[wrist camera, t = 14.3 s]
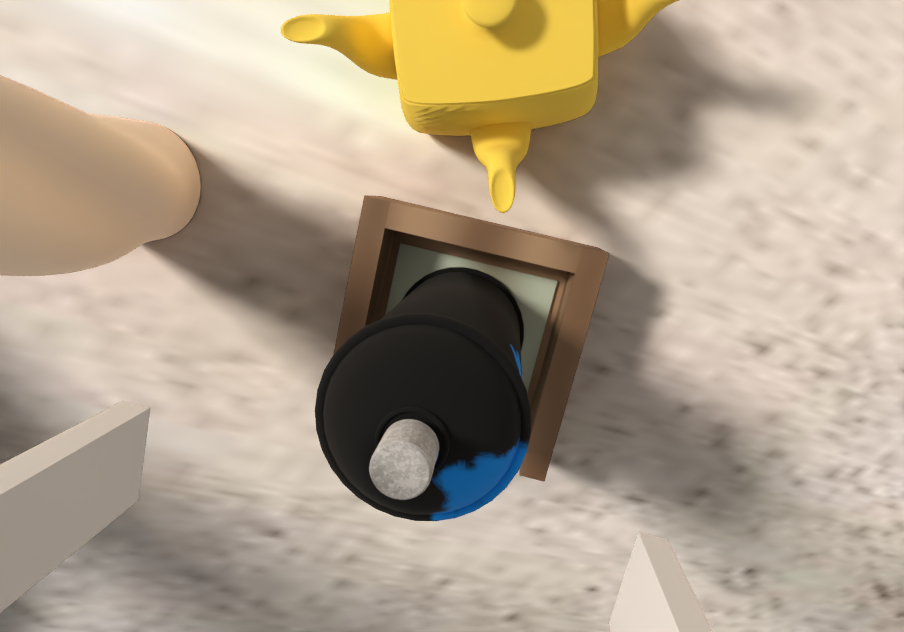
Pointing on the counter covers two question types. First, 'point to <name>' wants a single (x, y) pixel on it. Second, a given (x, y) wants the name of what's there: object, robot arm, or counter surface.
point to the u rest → (504, 258)
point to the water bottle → (84, 184)
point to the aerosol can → (430, 400)
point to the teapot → (485, 65)
